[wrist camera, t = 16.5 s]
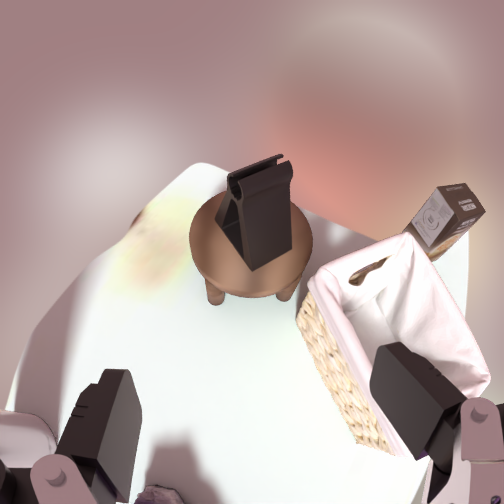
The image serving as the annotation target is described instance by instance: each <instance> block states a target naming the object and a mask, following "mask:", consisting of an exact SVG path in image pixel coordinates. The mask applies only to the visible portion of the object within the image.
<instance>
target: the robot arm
mask: <svg viewBox="0 0 504 504" xmlns="http://www.w3.org/2000/svg"><path fill="white" fill-rule="evenodd" d="M369 388H370V393H371V395H372V397H373V399H374V400H375V402H376V403H377V404H378V406H379V407H380V409H381V410H382V412H383V413H384V415H385V416H386V417H387V419H388V420H389V422H390V423H391V425H392V426H393V428H394V429H395V430H396V432H397V433H398V435H399V436H400V438H401V439H402V441H403V442H404V444H405V445H406V446H407V448H408V449H409V451H410V452H411V454H412V455H413V457H414V458H415V460H416V461H417V460H419V459H421V458H423V457H425V456H427V455H429V456H430V457H431V460H430V462H429V464H428V470H427V476H426V482H425V487H424V493H423V497H422V502H421V504H504V403H503V404H499V405H495V404H494V403H493V402H491V401H489V400H488V399H485V398H481V397H473V398H469V399H468V398H467V397H466V396H465V395H464V394H463V393H462V392H461V391H460V390H459V389H458V388H456V387H455V386H454V385H453V384H452V383H451V382H450V381H449V380H448V379H447V378H446V377H445V376H444V375H442V373H441V372H440V371H439V370H438V369H437V368H435V366H434V365H433V364H432V363H430V362H429V361H428V360H427V359H426V358H425V357H423V356H421V355H419V354H417V353H415V352H411V351H410V350H409V349H408V348H407V347H406V346H405V345H404V344H403V343H402V342H399V341H398V342H394V343H390V344H385V345H381V346H379V347H378V349H377V351H376V355H375V360H374V364H373V369H372V373H371V377H370V381H369ZM75 406H76V407H74V409H73V411H72V413H71V417H70V418H69V420H68V422H67V425H66V427H65V429H64V432H63V434H62V436H61V439H60V441H59V444H58V446H57V447H56V441H55V438H54V436H53V434H52V431H51V430H50V428H49V427H48V425H47V424H46V423H45V422H44V421H43V420H42V419H41V418H39V417H37V416H35V415H33V414H27V413H19V412H12V411H6V410H0V504H116V502H121V503H129V496H130V488H131V482H132V475H133V469H134V463H135V457H136V451H137V445H138V440H139V435H140V429H141V424H142V409H141V405H140V401H139V398H138V395H137V392H136V389H135V386H134V383H133V379H132V376H131V373H130V371H129V370H127V369H105V370H104V371H103V373H102V375H101V378H100V380H99V382H98V384H92V383H91V384H90V385H89V386H88V387H87V388H86V389H85V390H84V391H83V392H81V394H80V396H79V398H78V400H77V402H76V404H75Z"/></svg>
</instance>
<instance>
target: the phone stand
mask: <svg viewBox="0 0 504 504" xmlns="http://www.w3.org/2000/svg"><path fill="white" fill-rule="evenodd" d="M280 158H283V155H282V154H278V155H275V156H273V157H270V158H267V159H265V160H262V161H259V162H257V163H254V164H252V165H249V166H247V167H244V168H242V169H239V170H237V171H234V172H232V173H229V174H228V176H227V191H226V193H225V196H224V198H223V200H222V202H221V205H220V207H219V209H218V211H217V214H216V216H215V221H216V223H217V224H218V226H219V227H220V228H221V230H222V231H223V233H224V234H225V235H226V237H227V238H228V240H229V241H230V242H231V244H233V247H234V248H235V249H236V251H237V252H238V254H239V255H240V256H241V258H242V259H243V261H244V262H245V263H246V265H247V266H248V268H249V269H250V270H251V271H252V272H253V271H255V270H256V269H258V268H260V267H262V266H264V265H265V264H267V263H269V262H271V261H272V260H274V259H276V258H278V257H279V256H281V255H283V254H285V253H286V252H288V251H290V250H292V229H291V206H290V182H291V179H292V177H293V169H292V166H291V163H290V162H289V160H288V161H285V162H283V163H280V164H278V165H277V159H280Z"/></svg>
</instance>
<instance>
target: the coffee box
mask: <svg viewBox="0 0 504 504" xmlns="http://www.w3.org/2000/svg"><path fill="white" fill-rule="evenodd" d="M485 212H486V211H485V210H484V208H483V206H482V205H481V203H480V202H479V200H478V199H477V197H476V196H475V195H474V193H473V192H472V191H471V190H470V189H469V187H468V186H467V185H466V184H465V183H462V184H455V185H448V186H440V187H437V188H436V190H435V191H434V192H433V193H432V195H431V196H430V197H429V199H428V200H427V201H426V203H425V204H424V205H423V206H422V208H421V209H420V210H419V212H418V213H417V214H416V215H415V217H414V218H413V219H412V220H411V222H410V223H409V224H408V226H407V227H406V228H405V229H404V230H403V232H402V233H404V232H409V233H410V234H412V235H413V237H414V238H415V240H416V241H417V242H418V244H419V245H420V246H421V248H422V249H423V251H424V252H425V254H426V255H427V257H428V258H429V260H430V261H431V262H433V261H436V260H438V259H439V258H440V257H441V256H442V255H443V254H444V253H445V252H446V251H447V250H448V249H449V248H450V247H452V246H453V245H454V244H455V243H456V242H457V241H458V240H459V239H460V238H461V237H462V236H463V235H464V234H465V233H466V232H467V231H468V230H469V229H470V228H471V227H472V225H474V224H475V222H476V221H477V220H478V219H479V218H480V217H481V216H482V215H483V214H484V213H485Z"/></svg>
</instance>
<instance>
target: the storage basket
mask: <svg viewBox="0 0 504 504" xmlns="http://www.w3.org/2000/svg"><path fill="white" fill-rule="evenodd" d="M372 263H373V265H372V266H370V267H369V268H367V269H366V270H363V271H361V272H359V273H357V274H354V275H353V273H354V272H357V271H359V270H360V269H361V268H364V267H365V266H367V265H369V264H372ZM307 285H308V288H309V291H308V293H307V295H306V297H305V299H304V300H303V302H302V306H301V307H300V310H299V313H298V316H297V318H296V323H297V326H298V328H299V330H300V332H301V334H302V337H303V339H304V341H305V342H306V344H307V347H308V350H309V352H310V354H311V355H312V357H313V358H314V362H315V365H316V368H317V370H318V372H319V373H320V374H321V377H322V379H323V381H324V383H325V385H326V387H327V388H328V390H329V391H330V393H331V395H332V397H333V400H334V401H335V403H336V404H337V406H338V407H339V410H340V413H341V415H342V416H343V418H344V420H345V421H346V423H347V424H348V426H349V429H350V431H351V432H352V433H353V435H354V437H355V439H356V441H357V442H356V444H358V443H359V444H362V445H366V446H368V447H371V448H374V449H377V450H382V451H385V452H386V453H389V454H390V455H394V456H397V457H402V458H407V457H413V455H412V454H411V452H410V451H409V449H408V448H407V446H406V445H405V444H404V442H403V441H402V439H401V438H400V436H399V435H398V433H397V432H396V430H395V429H394V428H393V426H392V425H391V423H390V422H389V420H388V419H387V417H386V416H385V415H384V413H383V412H382V410H381V409H380V407H379V406H378V404H377V403H376V402H375V400H374V399H373V397H372V395H371V393H370V388H369V381H370V377H371V373H372V369H373V364H374V360H375V355H376V351H377V349H378V347H379V346H381V345H385V344H390V343H394V342H398V341H399V342H402V343H403V344H404V345H405V346H406V347H407V348H408V349H409V350H410V351H411V352H415V353H417V354H419V355H421V356H423V357H425V358H426V359H427V360H428V361H429V362H430V363H432V364H433V365H434V366H435V368H437V369H438V370H439V371H440V372H441V373H442V375H444V376H445V377H446V378H447V379H448V380H449V381H450V382H451V383H452V384H453V385H454V386H455V387H456V388H458V389H459V390H460V391H461V392H462V393H463V394H464V395H465V396H466V397H467V398H468V399H469V398H473V397H479V396H480V394H481V393H482V392H483V391H484V389H485V388H486V386H487V385H488V384H489V383H490V379H491V376H490V372H489V370H488V368H487V365H486V363H485V360H484V358H483V356H482V353H481V351H480V348H479V346H478V344H477V342H476V340H475V338H474V336H473V334H472V332H471V330H470V328H469V326H468V324H467V322H466V320H465V319H464V317H463V315H462V313H461V311H460V310H459V308H458V306H457V304H456V303H455V301H454V299H453V297H452V296H451V294H450V292H449V291H448V289H447V287H446V286H445V284H444V282H443V280H442V279H441V277H440V276H439V274H438V272H437V271H436V269H435V267H434V266H433V264H432V263H431V261H430V260H429V258H428V257H427V255H426V254H425V252H424V251H423V249H422V248H421V246H420V245H419V244H418V242H417V241H416V240H415V238H414V237H413V235H412V234H410V233H409V232H404V233H401V234H397V235H394V236H392V237H389V238H386V239H383V240H381V241H378V242H376V243H374V244H371V245H369V246H367V247H364V248H362V249H359V250H357V251H354V252H352V253H349V254H347V255H344V256H342V257H339V258H337V259H335V260H333V261H331V262H329V263H327V264H325V265H323V266H321V267H319V269H318V270H317V272H316V273H315V274H314V275H313V276H312V277H310V279H309V281H308V283H307Z"/></svg>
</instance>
